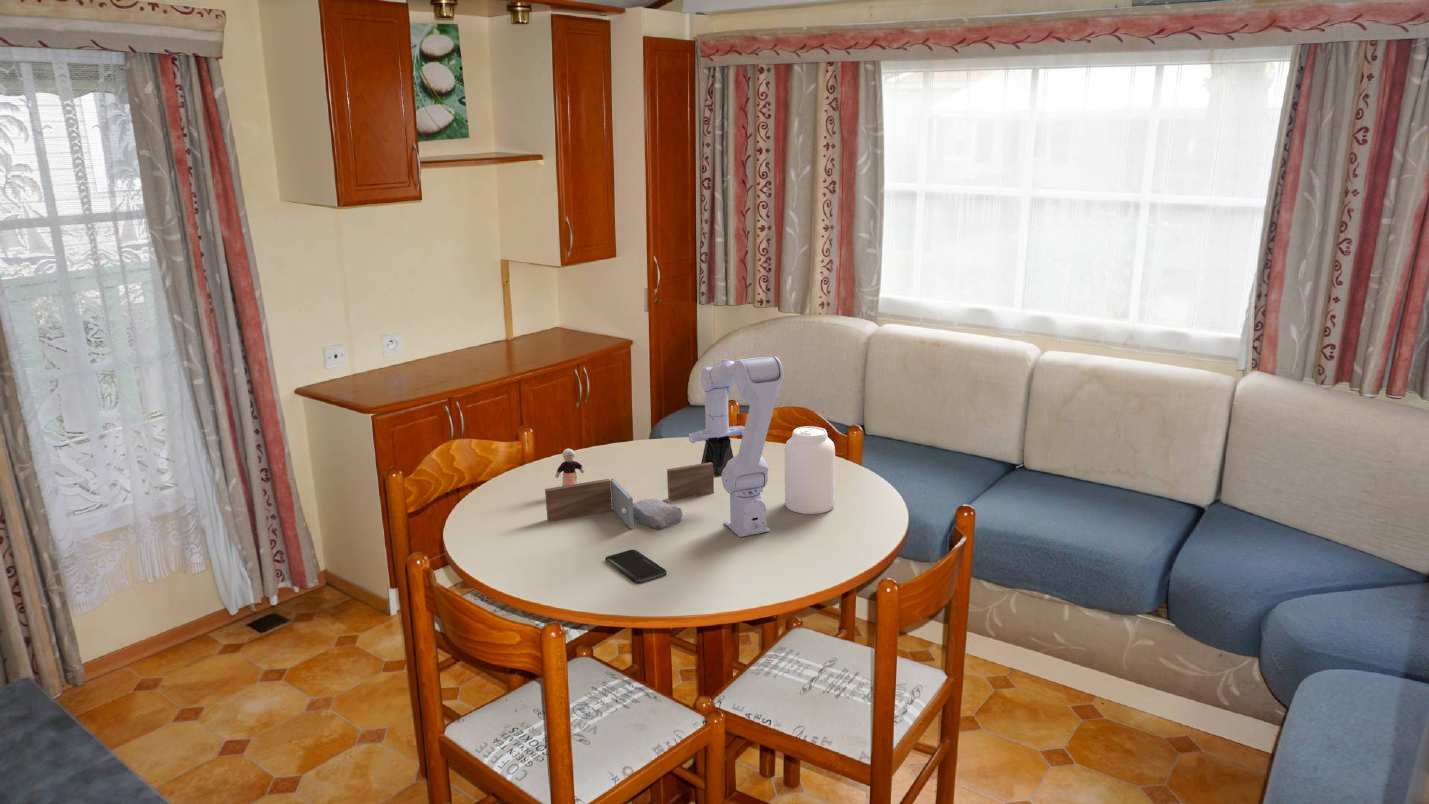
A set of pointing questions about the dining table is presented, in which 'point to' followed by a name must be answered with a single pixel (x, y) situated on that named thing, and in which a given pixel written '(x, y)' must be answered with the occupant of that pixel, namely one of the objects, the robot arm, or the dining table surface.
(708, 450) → the phone stand
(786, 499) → the can
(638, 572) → the phone
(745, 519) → the robot arm
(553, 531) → the dining table surface
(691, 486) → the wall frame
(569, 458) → the grandmother figurine
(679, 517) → the stone block
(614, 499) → the door
